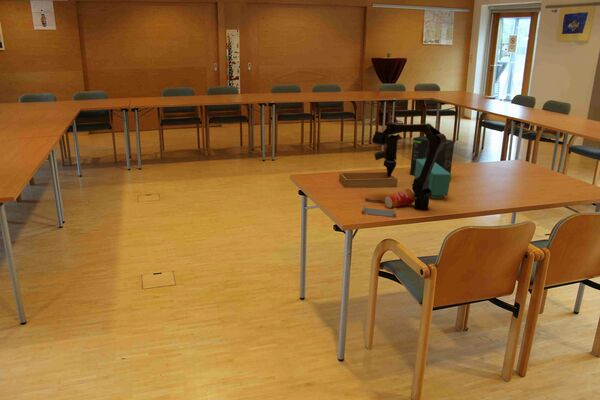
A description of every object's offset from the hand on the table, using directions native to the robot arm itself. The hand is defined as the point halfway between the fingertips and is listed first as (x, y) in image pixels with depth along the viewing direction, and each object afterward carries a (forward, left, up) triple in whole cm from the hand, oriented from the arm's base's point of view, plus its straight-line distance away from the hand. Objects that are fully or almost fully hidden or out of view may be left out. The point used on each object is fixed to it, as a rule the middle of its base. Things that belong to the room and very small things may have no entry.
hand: (388, 175), depth 273 cm
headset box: (-25, -56, -13) cm, 63 cm away
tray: (+12, -27, -14) cm, 33 cm away
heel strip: (+3, +7, -13) cm, 15 cm away
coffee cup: (-1, +14, -10) cm, 17 cm away
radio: (-24, -23, -13) cm, 36 cm away
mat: (+3, +23, -13) cm, 27 cm away
